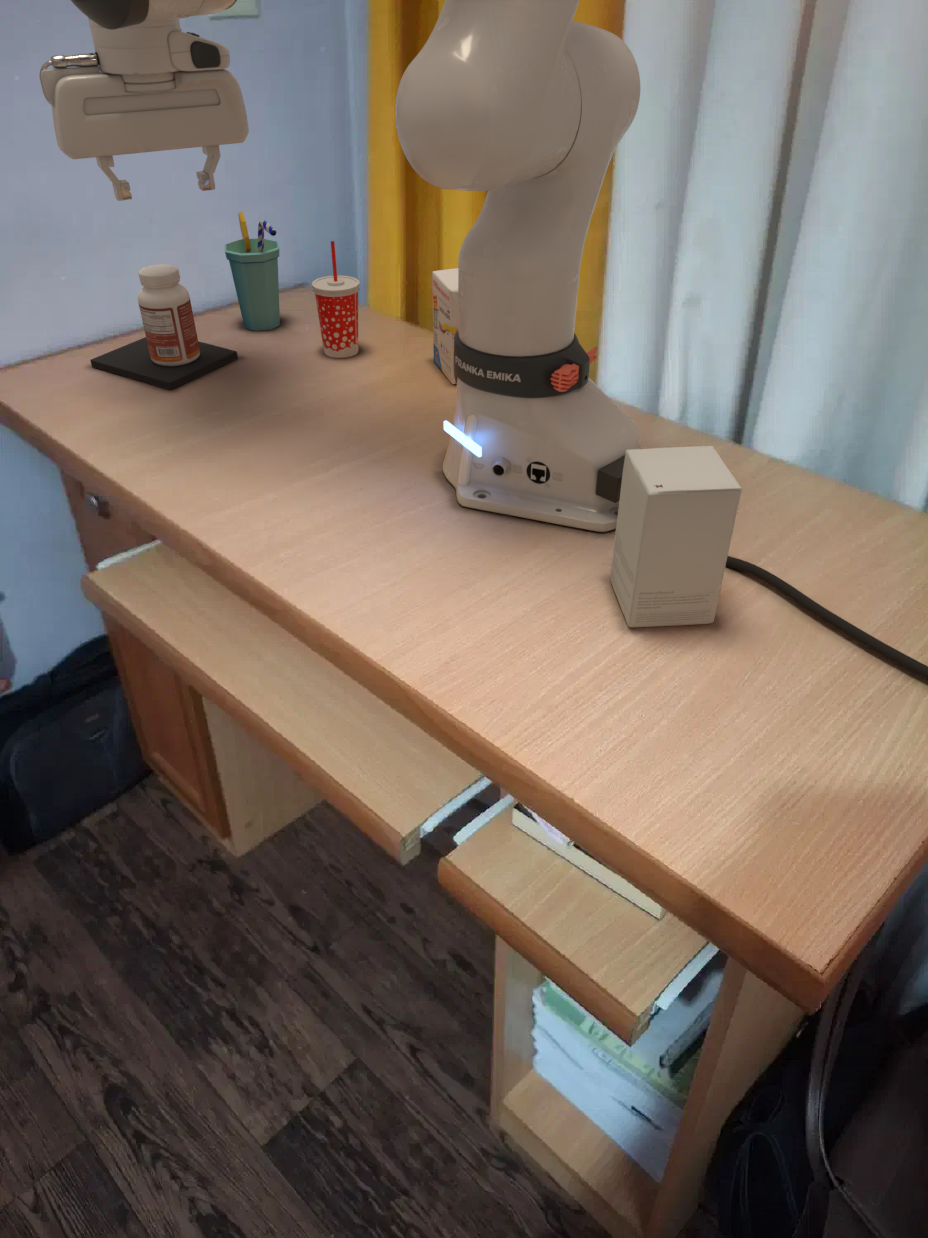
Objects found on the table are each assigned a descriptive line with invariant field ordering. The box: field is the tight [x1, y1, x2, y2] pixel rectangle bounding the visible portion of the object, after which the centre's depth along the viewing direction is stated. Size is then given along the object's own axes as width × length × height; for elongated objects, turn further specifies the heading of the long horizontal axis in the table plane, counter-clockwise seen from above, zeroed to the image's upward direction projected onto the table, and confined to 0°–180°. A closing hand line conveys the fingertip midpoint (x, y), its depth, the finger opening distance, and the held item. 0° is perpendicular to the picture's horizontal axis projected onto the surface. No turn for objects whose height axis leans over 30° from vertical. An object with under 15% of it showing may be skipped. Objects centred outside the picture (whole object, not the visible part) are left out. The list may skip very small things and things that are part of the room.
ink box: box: [431, 267, 458, 385], centre depth 113 cm, size 9×8×12 cm
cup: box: [224, 211, 281, 332], centre depth 124 cm, size 14×8×15 cm, turn 35°
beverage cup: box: [311, 240, 361, 359], centre depth 117 cm, size 6×6×14 cm
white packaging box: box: [609, 445, 743, 628], centre depth 73 cm, size 7×7×13 cm
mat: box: [89, 336, 239, 391], centre depth 118 cm, size 14×12×1 cm
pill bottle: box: [137, 263, 200, 366], centre depth 113 cm, size 6×6×11 cm
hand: (166, 194), depth 103 cm, fingers open, 8 cm apart
